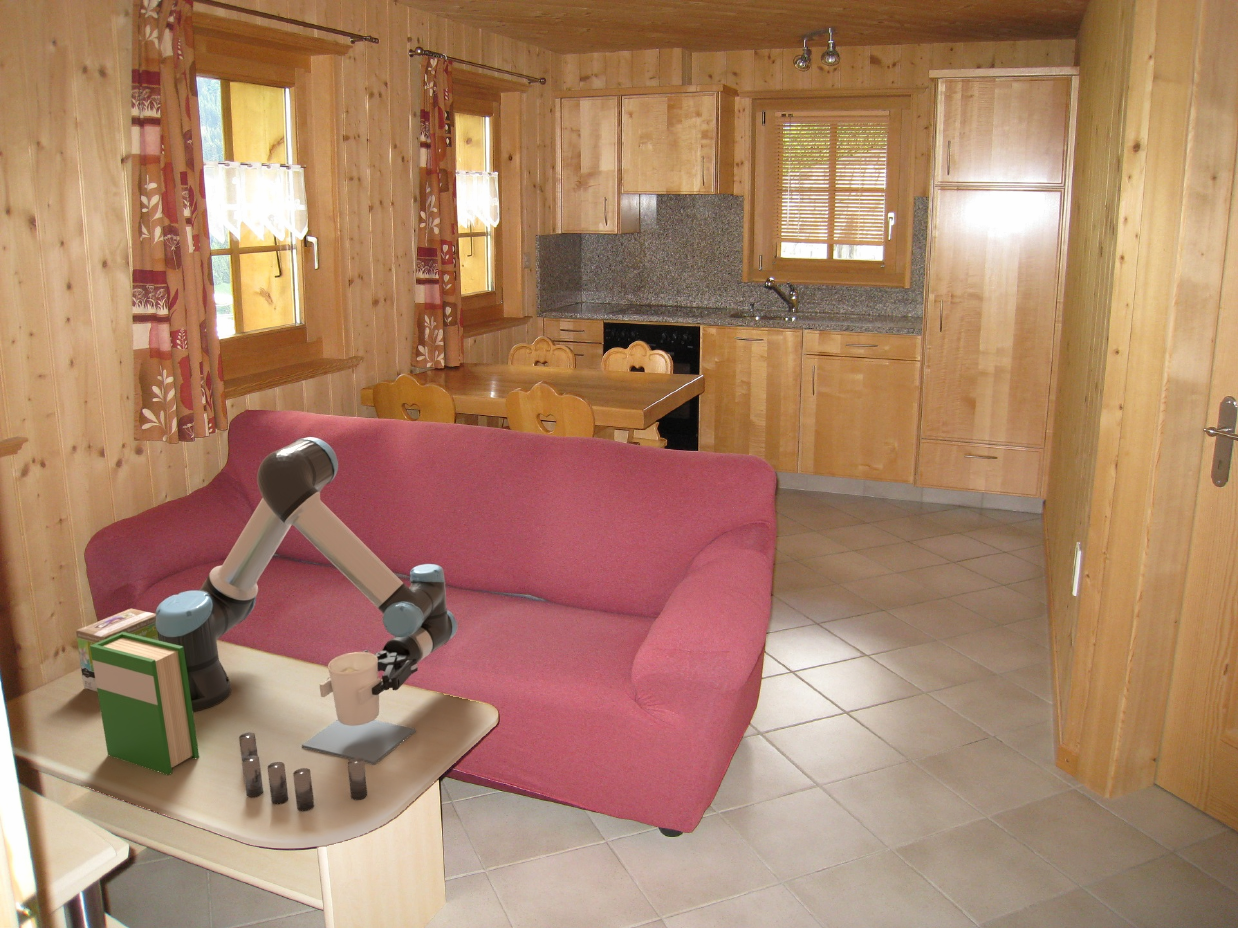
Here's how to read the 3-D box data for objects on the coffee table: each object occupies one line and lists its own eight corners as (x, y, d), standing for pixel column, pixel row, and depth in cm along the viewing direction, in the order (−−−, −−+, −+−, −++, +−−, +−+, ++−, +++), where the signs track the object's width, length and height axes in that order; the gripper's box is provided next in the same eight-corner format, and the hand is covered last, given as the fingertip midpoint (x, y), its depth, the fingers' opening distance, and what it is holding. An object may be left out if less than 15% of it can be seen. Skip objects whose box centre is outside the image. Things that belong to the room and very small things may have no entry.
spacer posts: (214, 788, 190) (210, 754, 188) (250, 763, 199) (246, 731, 197) (337, 820, 179) (334, 785, 177) (370, 792, 187) (367, 759, 186)
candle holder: (338, 706, 210) (332, 653, 207) (386, 702, 210) (381, 650, 208) (329, 729, 200) (323, 674, 197) (379, 725, 201) (373, 671, 198)
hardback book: (199, 756, 202) (183, 646, 196) (168, 775, 195) (151, 661, 189) (139, 738, 209) (123, 631, 204) (108, 755, 203) (89, 645, 197)
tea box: (113, 696, 228) (103, 636, 225) (83, 688, 232) (73, 629, 229) (167, 669, 241) (159, 612, 238) (138, 662, 246) (129, 606, 242)
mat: (301, 747, 204) (301, 744, 204) (345, 716, 216) (345, 713, 216) (374, 764, 197) (374, 761, 197) (415, 731, 209) (415, 728, 209)
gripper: (449, 672, 216) (386, 720, 196) (368, 657, 225) (300, 702, 205) (447, 640, 214) (383, 685, 194) (365, 626, 223) (296, 669, 203)
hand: (340, 694), depth 200 cm, fingers closed on candle holder, 9 cm apart
